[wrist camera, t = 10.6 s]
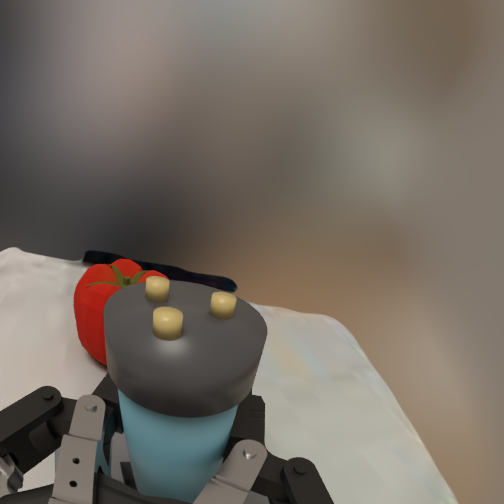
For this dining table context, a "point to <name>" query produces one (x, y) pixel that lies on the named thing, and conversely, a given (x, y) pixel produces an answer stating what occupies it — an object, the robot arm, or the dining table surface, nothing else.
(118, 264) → the tomato
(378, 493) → the dining table surface
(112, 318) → the plug
